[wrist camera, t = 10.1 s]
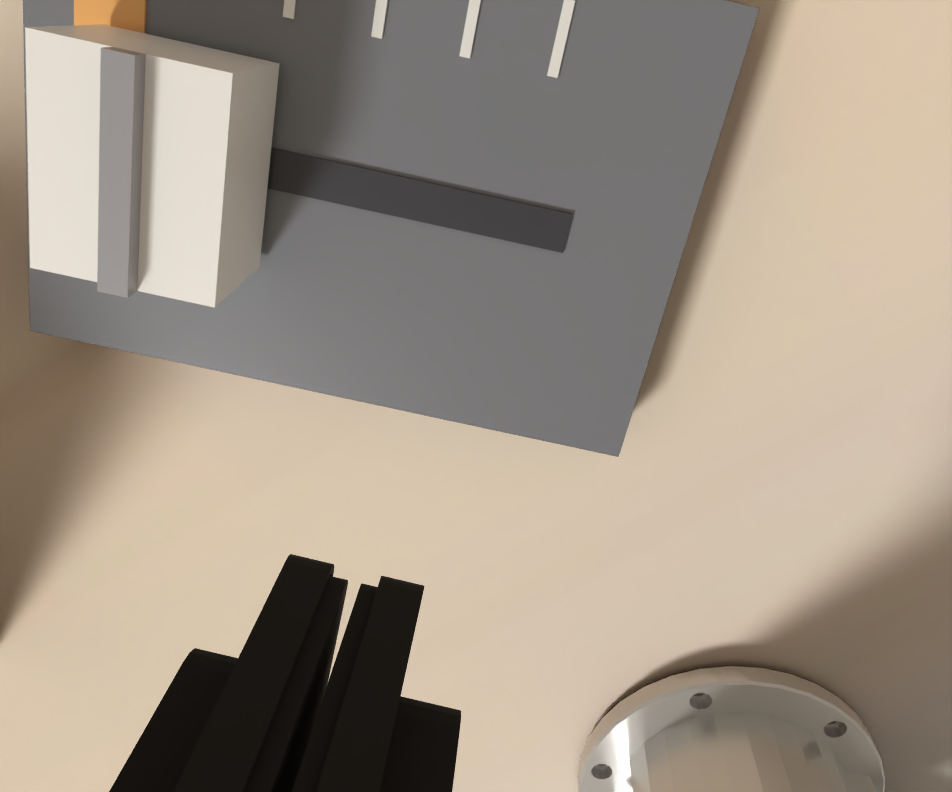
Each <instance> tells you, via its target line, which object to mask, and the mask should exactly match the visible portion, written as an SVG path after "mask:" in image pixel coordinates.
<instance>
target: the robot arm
mask: <svg viewBox="0 0 952 792" xmlns="http://www.w3.org/2000/svg"><path fill="white" fill-rule="evenodd" d="M333 573H334V564H330V563H326V562H321V561H317V560H313V559H309V558H305V557H300V556H296V555H292V554H290V555H289V556H288V558H287V560H286V562H285V564H284V566H283V568H282V570H281V572H280V574H279V576H278V578H277V580H276V582H275V584H274V586H273V588H272V590H271V592H270V594H269V596H268V598H267V601H266V603H265V605H264V607H263V609H262V611H261V613H260V615H259V617H258V619H257V621H256V623H255V625H254V627H253V629H252V631H251V633H250V635H249V637H248V640H247V642H246V644H245V646H244V648H243V650H242V652H241V654H240V656H239V658H234V657H230V656H226V655H221V654H217V653H213V652H209V651H204V650H200V649H196V648H195V649H193V650H192V651H191V652H190V653H189V654H188V656H187V657H186V659H185V660H184V662H183V663H182V665H181V667H180V669H179V670H178V672H177V674H176V676H175V677H174V679H173V681H172V683H171V684H170V686H169V688H168V690H167V692H166V693H165V695H164V697H163V699H162V700H161V702H160V704H159V706H158V707H157V709H156V711H155V713H154V714H153V716H152V718H151V720H150V721H149V723H148V725H147V727H146V728H145V730H144V732H143V734H142V735H141V737H140V739H139V741H138V742H137V744H136V746H135V748H134V749H133V751H132V753H131V755H130V756H129V758H128V760H127V762H126V763H125V765H124V767H123V769H122V770H121V772H120V774H119V776H118V777H117V779H116V781H115V783H114V784H113V786H112V788H111V790H110V791H109V792H452V787H453V779H454V771H455V763H456V755H457V747H458V739H459V731H460V722H461V711H460V710H456V709H452V708H448V707H443V706H439V705H435V704H430V703H426V702H422V701H418V700H413V699H409V698H405V697H401V696H400V695H401V691H402V686H403V682H404V677H405V672H406V668H407V663H408V659H409V654H410V650H411V645H412V641H413V636H414V631H415V627H416V622H417V618H418V613H419V609H420V604H421V599H422V595H423V590H424V586H423V585H418V584H414V583H410V582H406V581H402V580H397V579H393V578H389V577H385V576H381V579H380V582H379V585H378V587H374V586H370V585H366V584H361V586H360V589H359V592H358V595H357V598H356V601H355V604H354V607H353V610H352V613H351V616H350V619H349V622H348V625H347V628H346V631H345V634H344V637H343V640H342V643H341V646H340V649H339V652H338V655H337V658H336V661H335V664H334V667H333V670H332V673H331V676H330V679H329V674H330V669H331V664H332V659H333V654H334V649H335V644H336V640H337V635H338V630H339V625H340V620H341V615H342V610H343V605H344V600H345V595H346V591H347V585H348V580H345V579H340V578H336V577H333ZM328 679H329V682H328ZM327 684H328V685H327ZM578 790H579V792H884V790H885V776H884V770H883V765H882V760H881V757H880V755H879V753H878V751H877V748H876V746H875V744H874V741H873V739H872V737H871V735H870V733H869V731H868V730H867V728H866V727H865V725H864V724H863V722H862V721H861V719H860V718H859V716H858V715H857V714H856V713H855V712H854V711H853V710H852V709H851V708H850V707H849V706H848V705H846V704H845V703H844V702H843V701H842V700H841V699H840V698H839V697H837V696H835V695H834V694H832V693H831V692H829V691H827V690H826V689H824V688H822V687H821V686H819V685H817V684H815V683H813V682H810V681H807V680H805V679H802V678H800V677H797V676H794V675H792V674H788V673H784V672H779V671H774V670H769V669H765V668H756V667H738V666H726V667H715V668H703V669H697V670H693V671H689V672H685V673H680V674H676V675H672V676H669V677H667V678H664V679H662V680H659V681H657V682H654V683H652V684H650V685H647V686H645V687H643V688H641V689H640V690H638V691H636V692H635V693H633V694H632V695H630V696H628V697H627V698H625V699H623V700H622V701H621V702H619V703H618V704H617V705H616V706H615V707H614V708H613V709H612V710H611V711H609V712H608V713H607V714H606V715H605V716H604V717H603V718H602V719H601V721H600V722H599V723H598V725H597V726H596V727H595V729H594V730H593V731H592V733H591V734H590V736H589V737H588V740H587V742H586V745H585V747H584V749H583V752H582V754H581V757H580V764H579V770H578Z"/></svg>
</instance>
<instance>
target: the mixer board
mask: <svg viewBox="0 0 952 792" xmlns="http://www.w3.org/2000/svg"><path fill="white" fill-rule="evenodd" d="M759 9H760V8H756V7H752V6H748V5H743V4H739V3H734V2H730V1H726V0H23V25H24V72H25V120H26V167H27V214H28V262H29V309H30V331H34V332H38V333H43V334H48V335H52V336H57V337H62V338H66V339H71V340H76V341H80V342H85V343H90V344H94V345H99V346H104V347H108V348H113V349H118V350H122V351H127V352H132V353H136V354H141V355H146V356H150V357H155V358H160V359H164V360H169V361H174V362H178V363H183V364H188V365H192V366H197V367H202V368H206V369H211V370H216V371H220V372H225V373H230V374H234V375H239V376H244V377H248V378H253V379H258V380H262V381H267V382H272V383H276V384H281V385H286V386H290V387H295V388H300V389H304V390H309V391H314V392H318V393H323V394H328V395H332V396H337V397H342V398H346V399H351V400H356V401H360V402H365V403H370V404H374V405H379V406H384V407H388V408H393V409H398V410H402V411H407V412H412V413H416V414H421V415H426V416H430V417H435V418H440V419H444V420H449V421H454V422H458V423H463V424H468V425H472V426H477V427H482V428H486V429H491V430H496V431H500V432H505V433H510V434H514V435H519V436H524V437H528V438H533V439H538V440H542V441H547V442H552V443H556V444H561V445H566V446H570V447H575V448H580V449H584V450H589V451H594V452H598V453H603V454H608V455H612V456H617V457H619V454H620V450H621V447H622V444H623V441H624V438H625V434H626V431H627V428H628V425H629V422H630V419H631V415H632V412H633V409H634V406H635V403H636V399H637V396H638V393H639V390H640V387H641V384H642V380H643V377H644V374H645V371H646V368H647V365H648V361H649V358H650V355H651V352H652V349H653V345H654V342H655V339H656V336H657V333H658V330H659V326H660V323H661V320H662V317H663V314H664V310H665V307H666V304H667V301H668V298H669V295H670V291H671V288H672V285H673V282H674V279H675V276H676V272H677V269H678V266H679V263H680V260H681V256H682V253H683V250H684V247H685V244H686V241H687V237H688V234H689V231H690V228H691V225H692V221H693V218H694V215H695V212H696V209H697V206H698V202H699V199H700V196H701V193H702V190H703V187H704V183H705V180H706V177H707V174H708V171H709V167H710V164H711V161H712V158H713V155H714V152H715V148H716V145H717V142H718V139H719V136H720V132H721V129H722V126H723V123H724V120H725V117H726V113H727V110H728V107H729V104H730V101H731V98H732V94H733V91H734V88H735V85H736V82H737V78H738V75H739V72H740V69H741V66H742V63H743V59H744V56H745V53H746V50H747V47H748V43H749V40H750V37H751V34H752V31H753V28H754V24H755V21H756V18H757V15H758V12H759ZM98 24H105V25H109V26H114V27H118V28H123V29H127V30H132V31H136V32H141V33H145V34H150V35H154V36H159V37H163V38H168V39H172V40H177V41H181V42H186V43H190V44H195V45H199V46H204V47H208V48H213V49H217V50H222V51H226V52H231V53H235V54H240V55H244V56H249V57H253V58H258V59H262V60H267V61H271V62H276V63H280V64H279V74H278V85H277V95H276V105H275V115H274V125H273V136H272V146H271V156H270V166H269V176H268V186H267V197H266V207H265V217H264V227H263V237H262V247H261V258H260V267H258V268H257V269H256V270H255V271H254V272H253V273H252V274H251V275H250V276H249V277H248V278H247V279H245V280H244V281H243V282H242V283H241V284H240V285H239V286H238V287H237V288H236V289H235V290H233V291H232V292H231V293H230V294H229V295H228V296H227V297H226V298H225V299H224V300H223V301H221V302H220V303H219V304H218V305H217V306H216V307H215V308H214V307H210V306H205V305H200V304H196V303H191V302H186V301H182V300H177V299H172V298H168V297H163V296H159V295H154V294H149V293H145V292H140V291H137V292H135V293H134V294H132V295H131V296H129V297H128V298H126V297H121V296H116V295H112V294H107V293H103V292H98V291H97V282H94V281H89V280H84V279H80V278H75V277H71V276H66V275H61V274H57V273H52V272H47V271H43V270H38V269H33V268H30V243H29V194H28V145H27V96H26V47H25V27H45V26H72V25H98Z"/></svg>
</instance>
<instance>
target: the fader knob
mask: <svg viewBox="0 0 952 792" xmlns="http://www.w3.org/2000/svg"><path fill="white" fill-rule="evenodd" d="M25 47H26V96H27V145H28V194H29V243H30V268H33V269H38V270H43V271H47V272H52V273H57V274H61V275H66V276H71V277H75V278H80V279H84V280H89V281H94V282H97V291H98V292H103V293H107V294H112V295H116V296H121V297H126V298H128V297H129V296H131V295H132V294H134V293H135V292H137V291H140V292H145V293H149V294H154V295H159V296H163V297H168V298H172V299H177V300H182V301H186V302H191V303H196V304H200V305H205V306H210V307H214V308H215V307H216V306H217V305H218V304H219V303H220V302H221V301H223V300H224V299H225V298H226V297H227V296H228V295H229V294H230V293H231V292H232V291H233V290H235V289H236V288H237V287H238V286H239V285H240V284H241V283H242V282H243V281H244V280H245V279H247V278H248V277H249V276H250V275H251V274H252V273H253V272H254V271H255V270H256V269H257V268H258V267H260V258H261V247H262V237H263V227H264V217H265V207H266V197H267V186H268V176H269V166H270V156H271V146H272V136H273V125H274V115H275V105H276V95H277V85H278V74H279V64H280V63H276V62H271V61H267V60H262V59H258V58H253V57H249V56H244V55H240V54H235V53H231V52H226V51H222V50H217V49H213V48H208V47H204V46H199V45H195V44H190V43H186V42H181V41H177V40H172V39H168V38H163V37H159V36H154V35H150V34H145V33H141V32H136V31H132V30H127V29H123V28H118V27H114V26H109V25H105V24H98V25H72V26H45V27H25Z"/></svg>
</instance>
